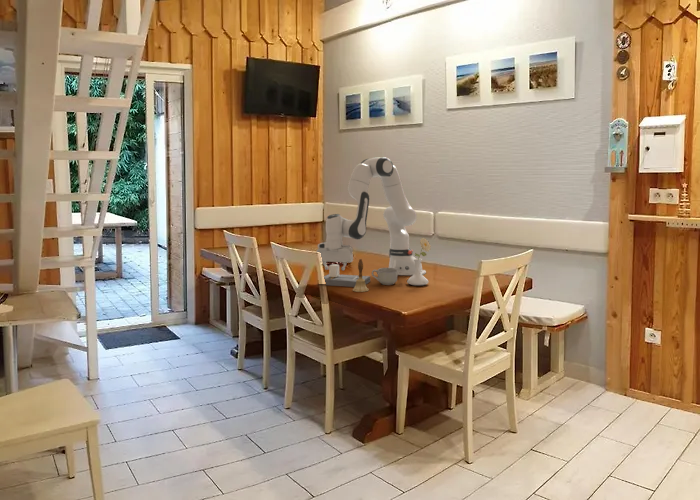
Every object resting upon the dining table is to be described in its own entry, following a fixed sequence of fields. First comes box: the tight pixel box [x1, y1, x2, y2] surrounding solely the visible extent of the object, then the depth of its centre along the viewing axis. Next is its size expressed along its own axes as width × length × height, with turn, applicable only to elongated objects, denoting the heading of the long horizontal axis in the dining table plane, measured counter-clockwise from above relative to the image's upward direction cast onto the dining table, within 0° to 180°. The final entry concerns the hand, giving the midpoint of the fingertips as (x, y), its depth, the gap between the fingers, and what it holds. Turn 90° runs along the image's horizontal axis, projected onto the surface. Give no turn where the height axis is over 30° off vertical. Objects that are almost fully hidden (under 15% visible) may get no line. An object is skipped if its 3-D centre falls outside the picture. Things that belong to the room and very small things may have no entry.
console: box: [323, 273, 371, 288], centre depth 330 cm, size 24×16×3 cm, turn 71°
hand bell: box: [352, 258, 370, 293], centre depth 311 cm, size 8×8×16 cm
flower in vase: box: [406, 237, 432, 287], centre depth 323 cm, size 13×11×25 cm
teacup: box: [371, 267, 398, 286], centre depth 328 cm, size 14×11×8 cm
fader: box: [328, 263, 340, 277], centre depth 331 cm, size 4×5×6 cm
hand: (334, 269), depth 332 cm, fingers open, 8 cm apart
